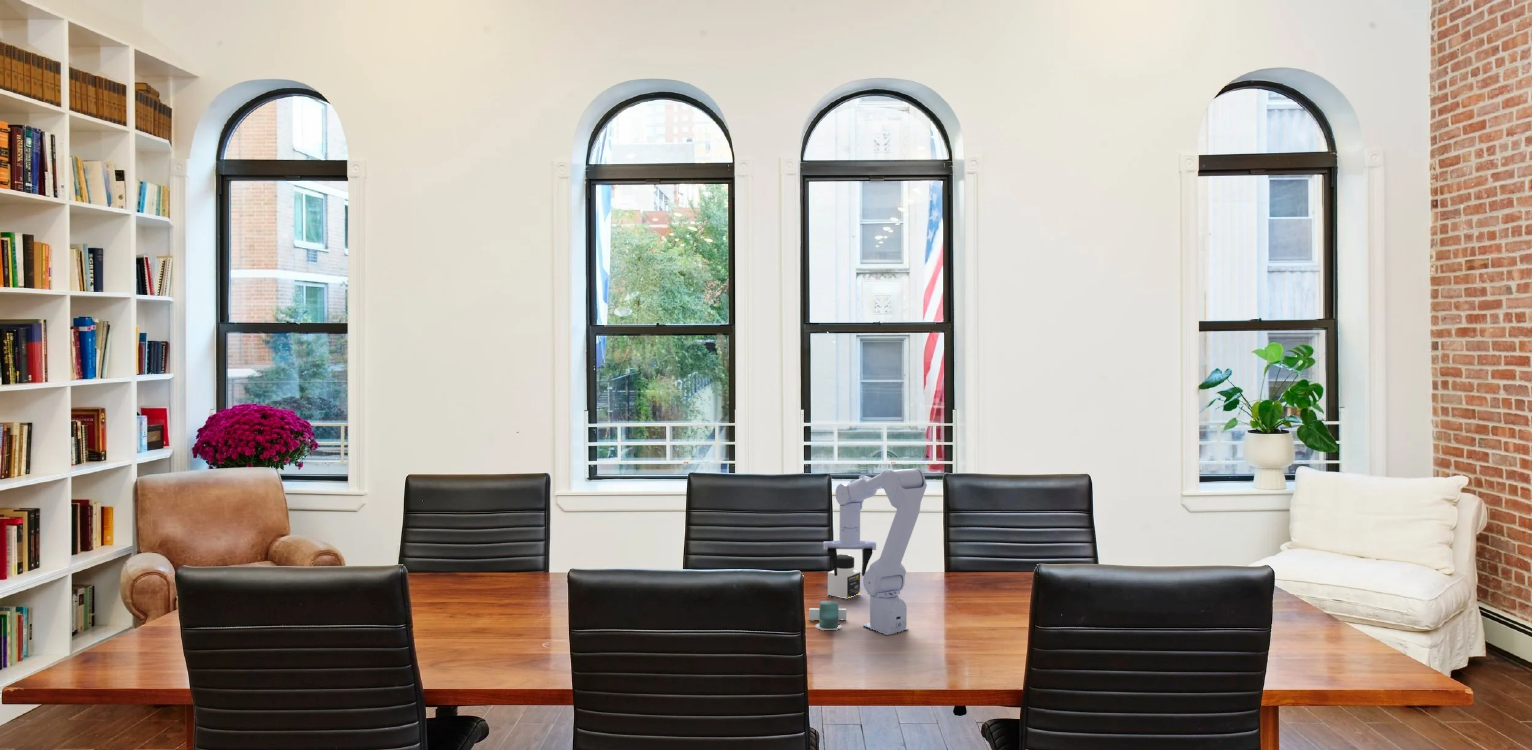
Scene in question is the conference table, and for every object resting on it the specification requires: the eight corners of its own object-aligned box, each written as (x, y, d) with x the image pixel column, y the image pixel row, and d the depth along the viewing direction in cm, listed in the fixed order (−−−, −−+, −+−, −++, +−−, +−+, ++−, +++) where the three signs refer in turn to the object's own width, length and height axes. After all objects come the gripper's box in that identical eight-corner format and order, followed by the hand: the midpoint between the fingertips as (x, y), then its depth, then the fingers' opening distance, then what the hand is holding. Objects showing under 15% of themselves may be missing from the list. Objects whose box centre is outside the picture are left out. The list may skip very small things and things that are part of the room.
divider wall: (846, 619, 246) (846, 608, 246) (846, 620, 245) (846, 609, 245) (809, 619, 247) (809, 608, 246) (809, 620, 246) (809, 609, 245)
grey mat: (847, 627, 239) (847, 626, 239) (827, 632, 235) (827, 631, 235) (830, 621, 245) (830, 620, 245) (810, 625, 241) (810, 625, 241)
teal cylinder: (842, 626, 239) (842, 604, 239) (827, 629, 237) (827, 607, 236) (830, 621, 244) (830, 599, 243) (815, 625, 241) (815, 602, 240)
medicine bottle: (847, 600, 266) (847, 559, 265) (827, 596, 270) (827, 555, 270) (860, 594, 271) (860, 554, 271) (840, 590, 276) (840, 551, 275)
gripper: (874, 523, 257) (874, 571, 257) (823, 523, 257) (822, 571, 257) (877, 528, 249) (876, 577, 250) (824, 528, 250) (824, 577, 250)
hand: (849, 575), depth 253 cm, fingers open, 7 cm apart
